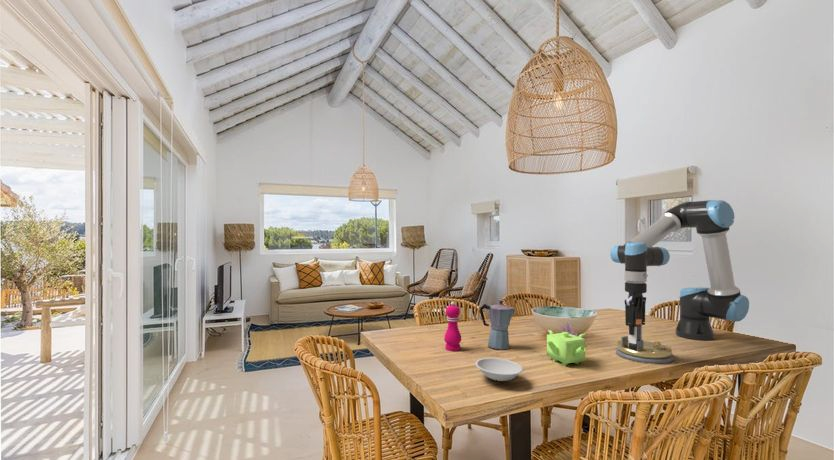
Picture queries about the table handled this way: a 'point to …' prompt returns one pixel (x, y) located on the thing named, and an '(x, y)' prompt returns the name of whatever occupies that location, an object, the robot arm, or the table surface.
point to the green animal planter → (566, 347)
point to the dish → (499, 368)
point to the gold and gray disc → (645, 349)
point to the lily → (568, 329)
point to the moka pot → (498, 324)
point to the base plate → (643, 358)
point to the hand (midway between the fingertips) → (635, 342)
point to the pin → (638, 325)
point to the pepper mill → (452, 328)
